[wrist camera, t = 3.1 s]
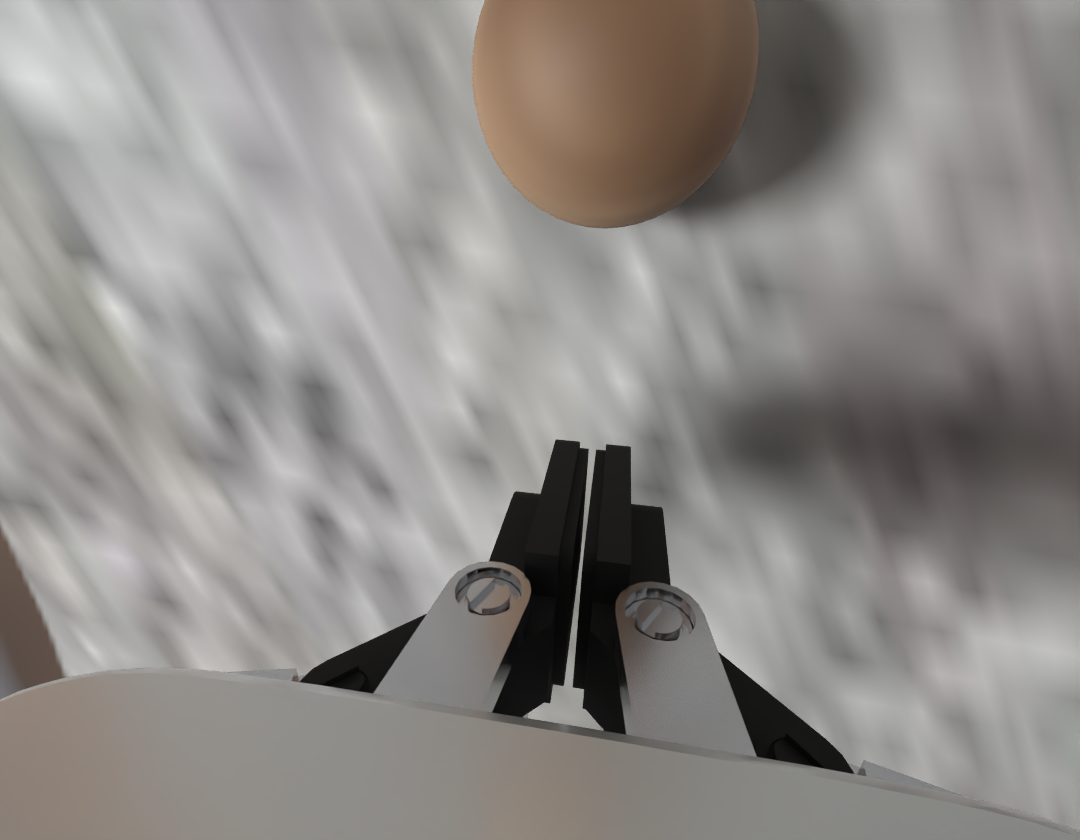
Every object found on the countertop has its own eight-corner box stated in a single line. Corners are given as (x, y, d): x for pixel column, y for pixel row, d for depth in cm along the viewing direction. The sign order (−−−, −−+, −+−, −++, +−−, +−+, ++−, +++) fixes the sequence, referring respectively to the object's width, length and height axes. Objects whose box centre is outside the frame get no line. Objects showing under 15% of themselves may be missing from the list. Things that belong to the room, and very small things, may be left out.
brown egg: (588, 266, 15) (570, 300, 10) (460, 87, 13) (363, 17, 8) (772, 124, 13) (872, 71, 8) (643, -99, 11) (661, -334, 6)
